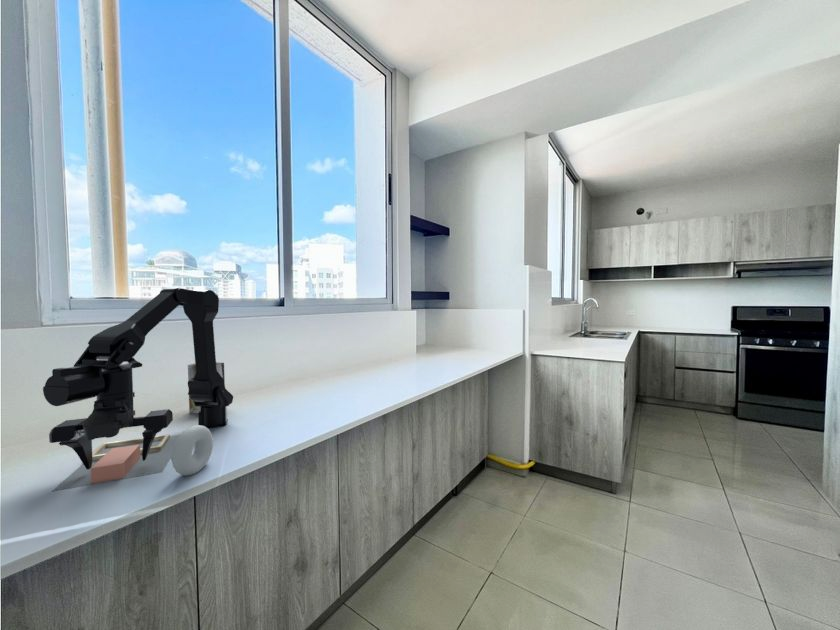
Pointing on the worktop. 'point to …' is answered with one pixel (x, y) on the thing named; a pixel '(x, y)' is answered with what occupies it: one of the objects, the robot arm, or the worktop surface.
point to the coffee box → (191, 375)
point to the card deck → (115, 463)
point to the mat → (149, 466)
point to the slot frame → (127, 442)
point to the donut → (184, 447)
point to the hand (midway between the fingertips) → (117, 464)
